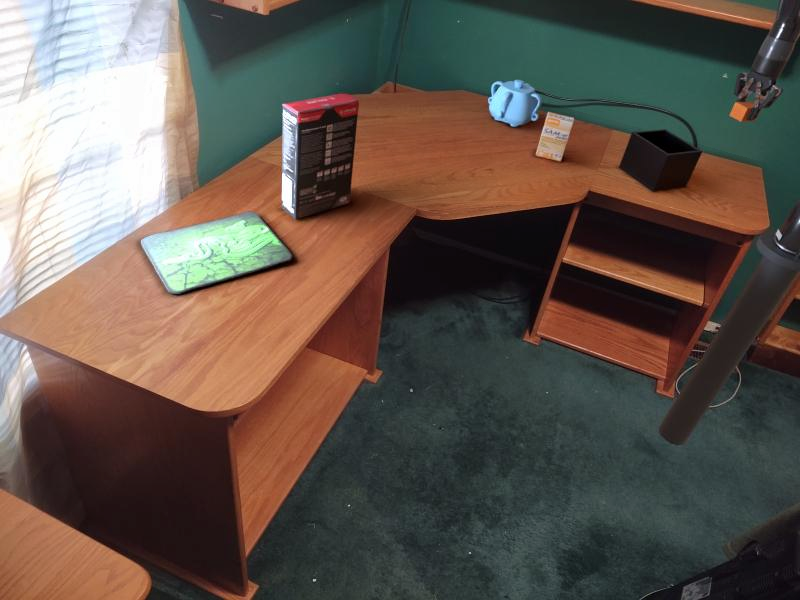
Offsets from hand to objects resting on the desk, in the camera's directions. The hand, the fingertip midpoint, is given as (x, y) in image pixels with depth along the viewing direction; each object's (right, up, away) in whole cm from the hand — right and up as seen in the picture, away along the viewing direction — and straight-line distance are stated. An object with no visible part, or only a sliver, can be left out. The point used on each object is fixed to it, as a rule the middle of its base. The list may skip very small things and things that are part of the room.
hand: (743, 116), depth 170 cm
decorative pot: (-60, +10, +38) cm, 71 cm away
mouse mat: (-138, -42, -40) cm, 150 cm away
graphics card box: (-119, -30, -21) cm, 124 cm away
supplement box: (-51, -8, +18) cm, 55 cm away
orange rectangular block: (0, -1, 0) cm, 1 cm away
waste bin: (-20, -15, +14) cm, 29 cm away
